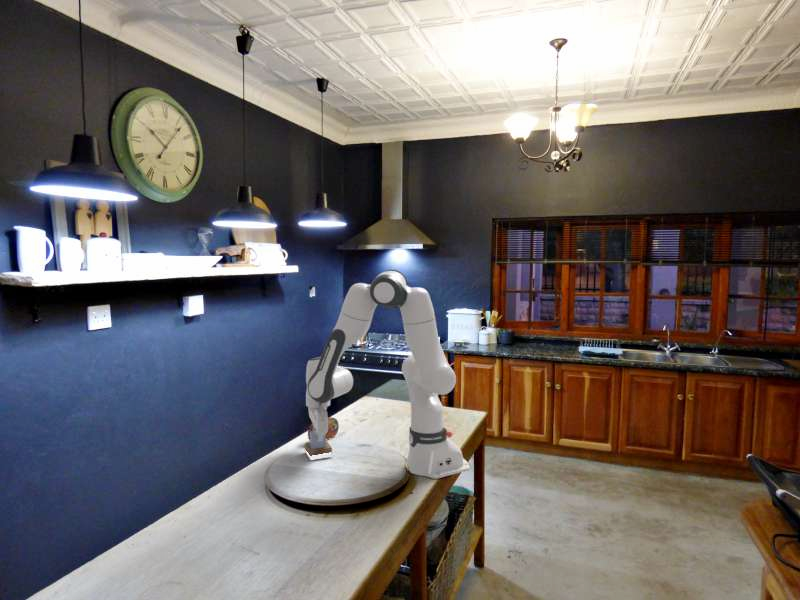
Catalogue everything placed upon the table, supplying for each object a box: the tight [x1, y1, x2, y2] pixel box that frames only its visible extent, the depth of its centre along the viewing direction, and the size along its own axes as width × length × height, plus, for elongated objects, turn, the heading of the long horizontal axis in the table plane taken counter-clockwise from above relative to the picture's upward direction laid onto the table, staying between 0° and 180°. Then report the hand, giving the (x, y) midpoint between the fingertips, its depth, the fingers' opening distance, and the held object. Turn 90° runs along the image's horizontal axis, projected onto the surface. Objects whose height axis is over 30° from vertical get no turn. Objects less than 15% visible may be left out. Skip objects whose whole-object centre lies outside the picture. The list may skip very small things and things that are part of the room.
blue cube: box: [309, 430, 327, 449], centre depth 178 cm, size 5×5×5 cm
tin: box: [307, 417, 340, 441], centre depth 194 cm, size 15×3×8 cm, turn 143°
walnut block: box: [304, 440, 333, 456], centre depth 179 cm, size 8×8×4 cm
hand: (318, 437), depth 179 cm, fingers open, 7 cm apart
